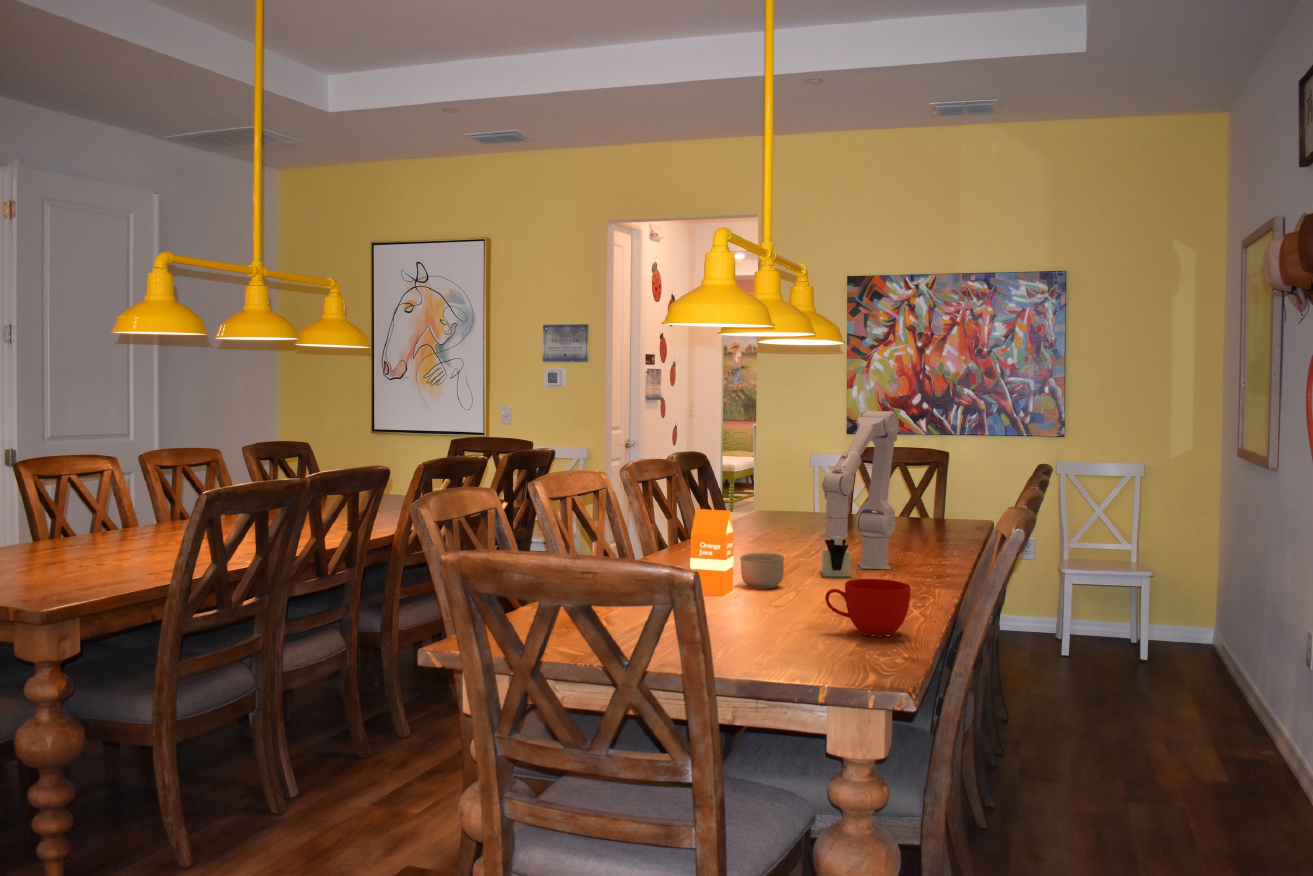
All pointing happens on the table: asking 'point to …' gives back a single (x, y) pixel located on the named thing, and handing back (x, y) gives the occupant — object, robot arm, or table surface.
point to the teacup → (762, 569)
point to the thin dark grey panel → (834, 576)
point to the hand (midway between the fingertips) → (835, 568)
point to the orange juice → (713, 550)
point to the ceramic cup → (874, 605)
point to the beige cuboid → (827, 565)
